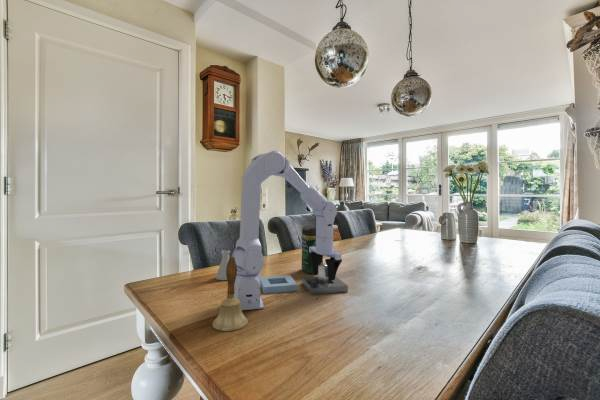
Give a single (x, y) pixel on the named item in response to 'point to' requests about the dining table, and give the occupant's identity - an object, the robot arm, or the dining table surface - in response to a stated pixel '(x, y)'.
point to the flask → (223, 266)
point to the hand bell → (230, 304)
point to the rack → (278, 284)
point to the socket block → (324, 286)
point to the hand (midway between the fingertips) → (324, 277)
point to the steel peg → (323, 274)
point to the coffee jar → (307, 242)
